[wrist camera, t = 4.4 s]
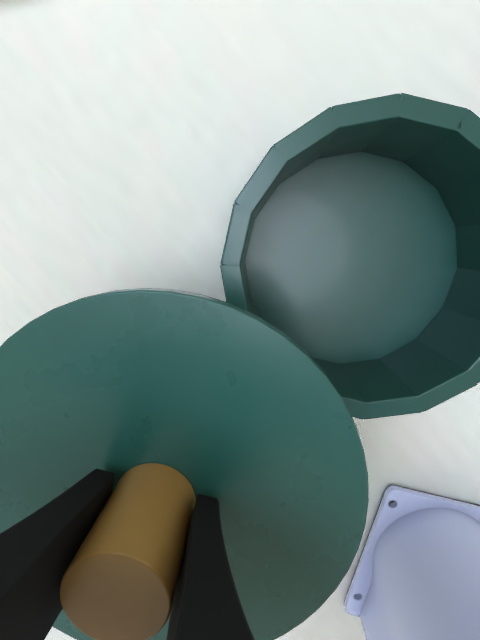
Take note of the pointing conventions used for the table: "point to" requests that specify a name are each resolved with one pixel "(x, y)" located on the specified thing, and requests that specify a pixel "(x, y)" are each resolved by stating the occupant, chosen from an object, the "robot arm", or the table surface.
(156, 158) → the table surface
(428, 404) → the tin
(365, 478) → the lid
